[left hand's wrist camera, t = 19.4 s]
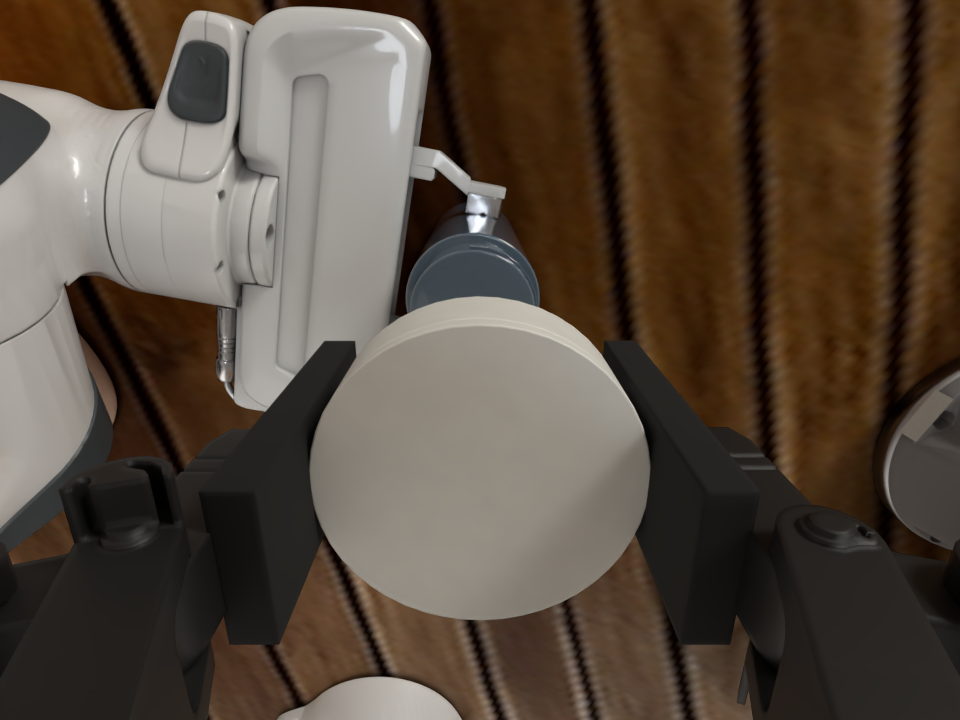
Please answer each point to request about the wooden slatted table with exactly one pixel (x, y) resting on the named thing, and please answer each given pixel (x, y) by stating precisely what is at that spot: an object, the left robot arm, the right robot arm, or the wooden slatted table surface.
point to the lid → (479, 461)
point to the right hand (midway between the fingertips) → (490, 267)
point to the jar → (471, 262)
